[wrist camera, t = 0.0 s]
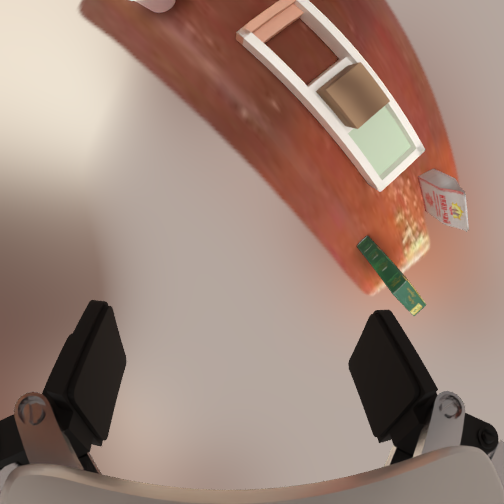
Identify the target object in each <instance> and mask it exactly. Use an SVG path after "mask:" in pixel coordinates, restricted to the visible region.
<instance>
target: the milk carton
mask: <svg viewBox="0 0 504 504" xmlns="http://www.w3.org/2000/svg"><path fill="white" fill-rule="evenodd" d="M418 179H419V183H420V187H421V192H422V196H423V201H424V206H425V211H426V212H428V213H429V214H431V215H432V216H434V217H435V218H436V219H438V220H439V221H440V222H442V223H443V224H445V225H448V226H452V227H456V228H459V229H462V230H465V231H467V229H469V228H468V215H467V205H466V196H465V191H464V190H462V188H461V187H460V185H459V184H458V182H457V181H456V179H455V178H453V177H451V176H449V175H447V174H444V173H442V172H440V171H438V170H436V169H432V170H430V171H428V172H426V173H424V174H422V175H420V176H418Z"/></svg>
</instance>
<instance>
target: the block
mask: <svg viewBox="0 0 504 504" xmlns="http://www.w3.org/2000/svg"><path fill="white" fill-rule="evenodd" d="M316 92H317V93H318V94H319V96H320V97H321V98H322V99H323V100H324V101H325V102H326V104H327V105H328V106H329V107H330V108H331V109H332V111H333V112H334V113H335V114H336V115H337V117H338V118H339V119H340V120H341V122H342V123H343V124H344V125H345V126H347V127H351V128H355V129H359V128H360V127H361V126H362V125H363V124H364V123H365V122H367V121H368V120H369V119H370V118H371V117H372V116H374V115H375V114H376V113H377V112H378V111H379V110H380V109H382V108H383V107H384V106H385V105H386V104H387V103H389V102H390V100H389V99H388V97H387V96H386V94H385V93H384V92H383V90H382V89H381V88H380V86H379V85H378V83H377V82H376V81H375V79H374V78H373V77H372V76H371V74H370V73H369V72H368V70H367V69H366V68H365V67H364V65H363V64H362V63H361V62H359V63H355V64H351V65H348V66H346V67H345V68H344V69H343V70H341V71H340V72H339V73H338V74H336V75H335V76H334V77H333V78H331V79H330V80H329V81H328V82H326V83H325V84H324V85H323V86H321V87H320V88H319V89H318V90H317V91H316Z"/></svg>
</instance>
